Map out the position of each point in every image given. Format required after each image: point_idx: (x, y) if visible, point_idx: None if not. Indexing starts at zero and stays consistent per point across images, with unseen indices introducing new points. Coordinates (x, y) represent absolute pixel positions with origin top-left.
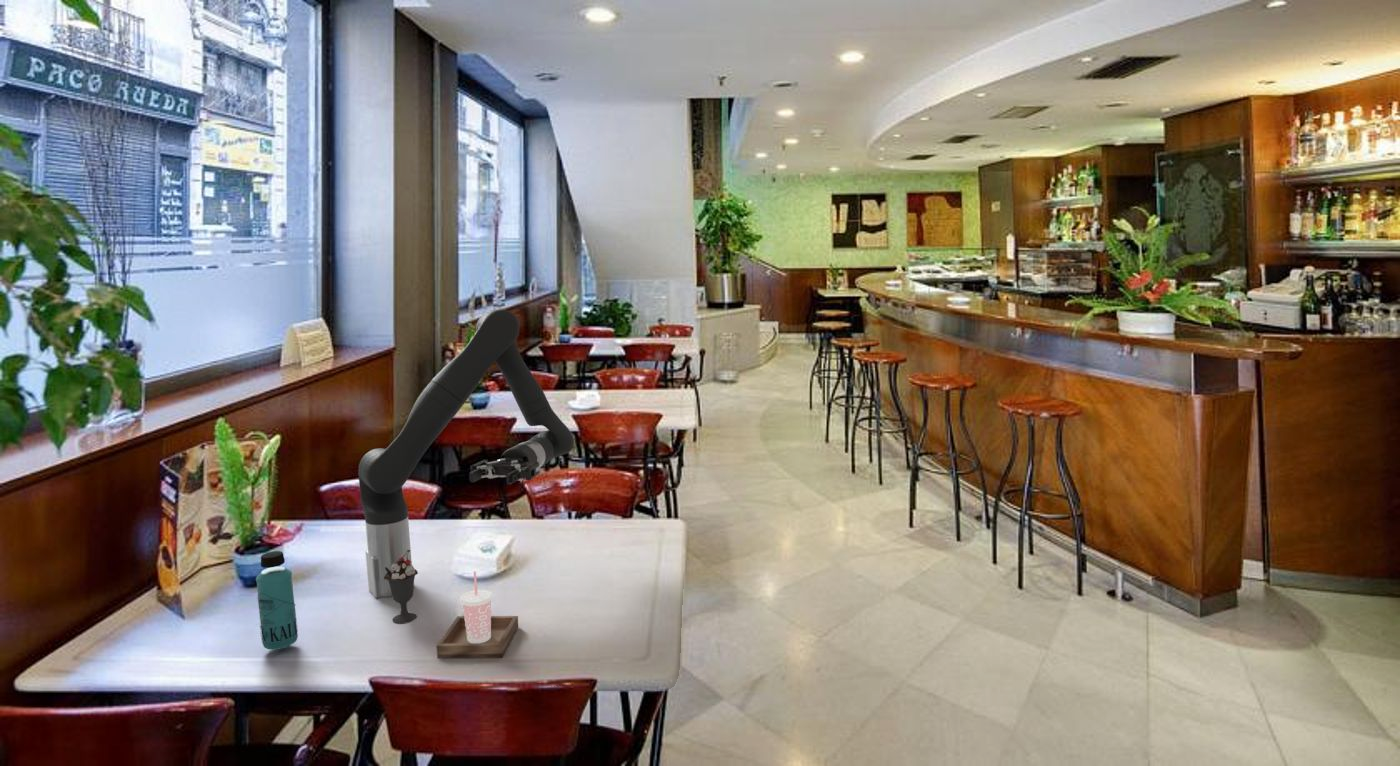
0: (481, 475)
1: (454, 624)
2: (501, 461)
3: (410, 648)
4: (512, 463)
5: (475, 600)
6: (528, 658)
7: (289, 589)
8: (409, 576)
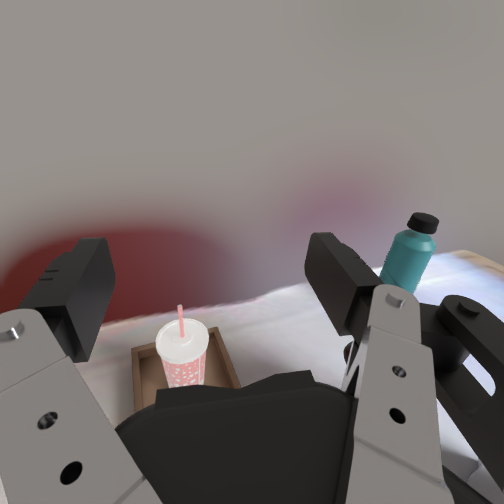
0: (352, 332)
1: (232, 375)
2: (347, 465)
3: (265, 345)
4: (133, 461)
5: (176, 327)
6: (94, 369)
7: (394, 256)
8: (347, 357)
